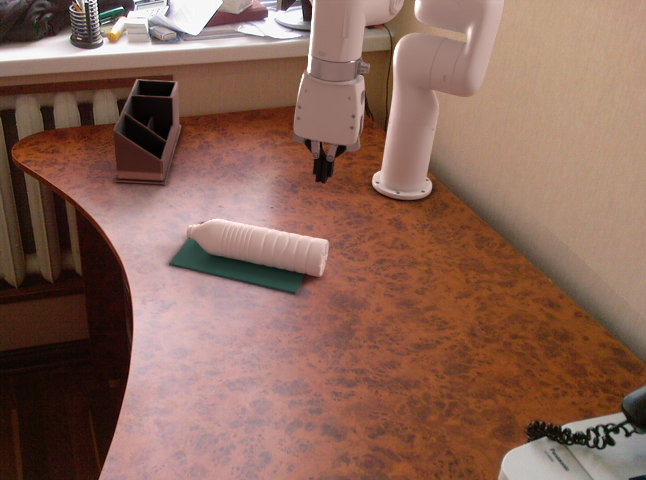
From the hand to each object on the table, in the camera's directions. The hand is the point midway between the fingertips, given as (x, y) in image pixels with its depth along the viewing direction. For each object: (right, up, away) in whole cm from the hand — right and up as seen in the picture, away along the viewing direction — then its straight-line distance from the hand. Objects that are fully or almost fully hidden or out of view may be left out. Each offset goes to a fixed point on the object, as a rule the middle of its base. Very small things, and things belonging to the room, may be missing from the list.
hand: (322, 179), depth 119 cm
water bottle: (+1, -12, +9) cm, 15 cm away
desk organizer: (-35, +13, +45) cm, 58 cm away
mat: (-13, -12, +14) cm, 22 cm away
